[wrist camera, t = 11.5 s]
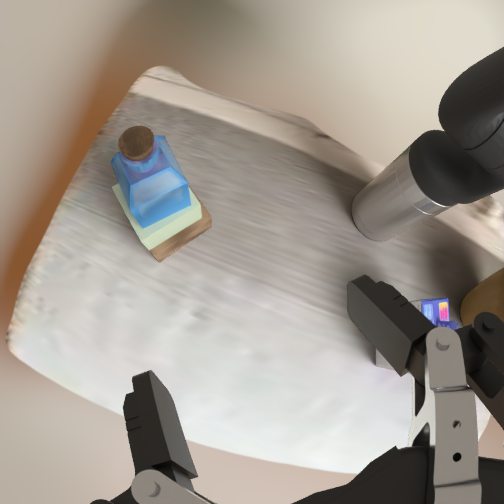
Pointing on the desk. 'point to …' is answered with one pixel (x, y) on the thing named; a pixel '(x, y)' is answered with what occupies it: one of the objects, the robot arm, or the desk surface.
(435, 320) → the ink cartridge box
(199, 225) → the tower base block
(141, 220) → the perfume bottle
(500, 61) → the robot arm
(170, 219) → the tower top block
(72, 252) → the desk surface
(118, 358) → the desk surface
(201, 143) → the desk surface
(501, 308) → the plant pot
